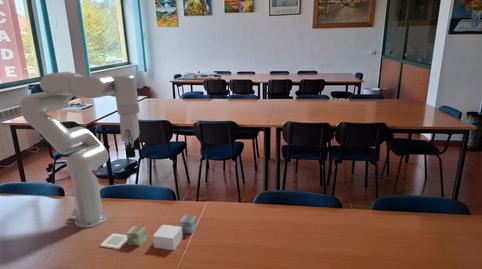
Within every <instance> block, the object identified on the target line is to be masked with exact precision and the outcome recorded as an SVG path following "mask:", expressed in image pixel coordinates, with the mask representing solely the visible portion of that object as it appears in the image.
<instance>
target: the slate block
mask: <svg viewBox="0 0 482 269" xmlns="http://www.w3.org/2000/svg"><path fill="white" fill-rule="evenodd" d="M179 227H182V234H188V235H189V234H190V235H191V234H193V233H194V232H195V230H196V229H197V227H198V226H197V216H195V215H189V214H188V215H187V214H185V215H183V216H182V217H181V219H180V220H179Z"/></svg>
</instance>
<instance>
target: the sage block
mask: <svg viewBox="0 0 482 269" xmlns="http://www.w3.org/2000/svg"><path fill="white" fill-rule="evenodd" d="M146 228H147V227H146V226H138V225H133V226H132V227H131V228H130V229H129V230H128V231H127V232H126V235H127V245H130V246H138V247H141V246H142V244H143V243H144V242H145V241H146V240H147V239H148V238H147V230H146Z"/></svg>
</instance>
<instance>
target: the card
mask: <svg viewBox="0 0 482 269" xmlns="http://www.w3.org/2000/svg"><path fill="white" fill-rule="evenodd" d="M126 243H128V241H127V234H121V233H111V234H110V235H109V236H108V237H106V239H105V240H103V241H102V242H101V243H100V244H99V247H100V248H101V247H102V248H103V247H104V248H108V249H114V250H115V249H116V250H120V249H121V248H122V247H123V246H124V245H125V244H126Z"/></svg>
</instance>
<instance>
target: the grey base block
mask: <svg viewBox="0 0 482 269" xmlns="http://www.w3.org/2000/svg"><path fill="white" fill-rule="evenodd" d="M152 239H153V242H152V243H153V248H155V249H163V250H170V251H175V250H176V249H177V247H178V245H179V244H180V242H181V241H182V240H183V233H182V227H180V225H170V224H169V225H167V224H162V225H161V226H160V227H159V228H157V230H156V232H155V233H154V234H153V235H152Z"/></svg>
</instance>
